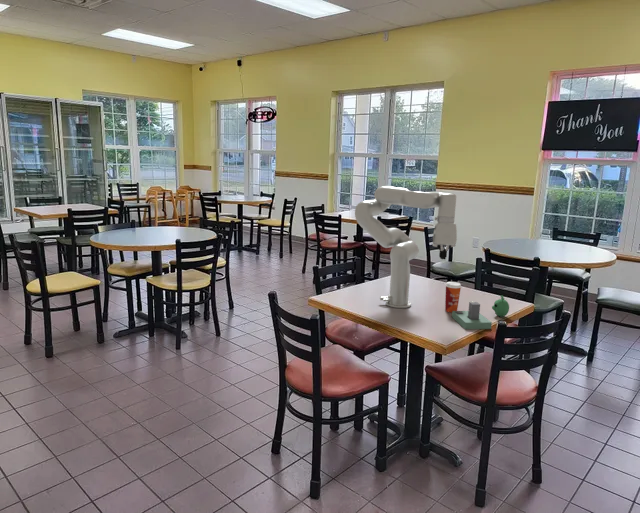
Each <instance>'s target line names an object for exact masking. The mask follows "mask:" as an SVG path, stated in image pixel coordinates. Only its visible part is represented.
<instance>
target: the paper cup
mask: <svg viewBox="0 0 640 513" xmlns="http://www.w3.org/2000/svg"><path fill="white" fill-rule="evenodd" d="M461 289H462V285H461V283H460V282H458V281H447V282H445V304H444V311H445V312H447V313H451V314H452V311H458V308H459V301H460V296H461V295H460V294H461Z"/></svg>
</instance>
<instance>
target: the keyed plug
mask: <svg viewBox="0 0 640 513" xmlns="http://www.w3.org/2000/svg"><path fill="white" fill-rule="evenodd" d="M467 311H468V318H469V319H470V320H479V313H481V312H480V311H481V304H480V303H479V302H477V301H469V302H468V310H467Z"/></svg>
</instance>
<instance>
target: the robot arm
mask: <svg viewBox="0 0 640 513" xmlns="http://www.w3.org/2000/svg"><path fill="white" fill-rule="evenodd" d="M456 203H457V195H456V194H455V193H449V192H439V191H425V192H424V191H414V190H409V188H405V187H398V186H397V187H396V186H393V185H383V186H379V187H378V188H376V190H375V191H374V199H367V200H362V201H360V202H359V203H357V205H356V206H355V209H354V217H355V220H356V223H357V224H358V225H359V226H360V227H361V228H362V230H364V231H365V232H366V233H368V235H369V236H370V237H372V238H373V239H374V241H376V242H377V244H379V245H380V246H381V247H382V248H385V249H388V248H391V250H390V253H389V257H390V278H389V279H390V281H389V282H390V283H389V294H387V295H385V296H379V301H383V302H385V304H386V305H387V307H391V308H395V309H406V308H410V307H411V306H412V303H411V301H409V297H410V296H409V294H410V293H409V292H410V278H411V266H410V261H411V260H413V259H416V257H417V256H419V252H420V251H419V250H420V249H419V246H418V245H417V243H416V242H415V241H414V240H412V239H411V238H410V236H408V235H407V234H406V233H405V232H404V231H403V230H401V229H400V228H397V227H387V226H386V225H385V224H383V222H381V221H380V220H379V219H377V218H376V216H379V215H381V214H382V213H384V212H385V211H386V210H387V209H388V208H389V207H391V206H392V205H394V206H395V205H396V206H403V207H408V208H414V209H416V208H417V209H424V210H426V209H433V208H438V210H437V211H438V212H437V216H436V217H434V220H435V221H436V222H435V224H434V225H435V226H434V229H433V234H432V243H431V245H432V246H433V247H434V248H437V249H438V250H439V255H438V256H439V258H440V259H441V260H446V259H447V258H448V257H447V255H448V251H449V250H450V248H453V247H456V243H457V240H458V239H457V237H458V236H457V235H458V234H457V233H458V231H457V223H455V215H456V206H457V204H456Z"/></svg>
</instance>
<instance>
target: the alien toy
mask: <svg viewBox="0 0 640 513" xmlns="http://www.w3.org/2000/svg"><path fill="white" fill-rule="evenodd" d="M491 309H492V310H493V311H494V314H495V315H496V316H497V317H500V318H503V317H505V316H507V315H508V313H509V312H510V304H509V302H508V300H506V299H505V296H504V295H500V298H499V299H496V300H495V301H494V303H493V305H492V306H491Z"/></svg>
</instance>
